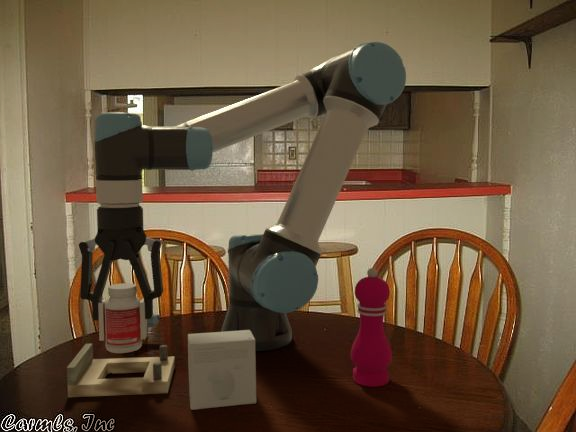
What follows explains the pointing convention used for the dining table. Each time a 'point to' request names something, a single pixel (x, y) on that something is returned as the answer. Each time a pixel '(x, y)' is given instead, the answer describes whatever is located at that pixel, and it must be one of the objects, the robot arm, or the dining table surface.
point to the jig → (91, 372)
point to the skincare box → (221, 369)
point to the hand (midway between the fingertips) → (123, 337)
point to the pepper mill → (371, 332)
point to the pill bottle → (122, 319)
